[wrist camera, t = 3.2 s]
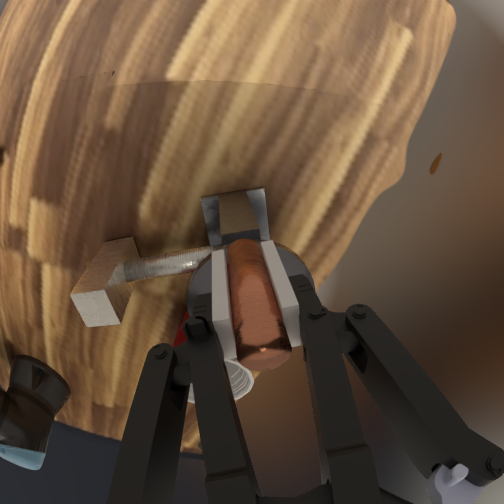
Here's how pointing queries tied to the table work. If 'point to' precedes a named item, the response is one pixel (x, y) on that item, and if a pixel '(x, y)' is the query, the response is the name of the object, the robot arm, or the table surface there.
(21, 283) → the table surface
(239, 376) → the plastic cup
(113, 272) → the hook bar
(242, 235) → the eye plate
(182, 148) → the table surface
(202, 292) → the handwheel
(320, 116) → the table surface
